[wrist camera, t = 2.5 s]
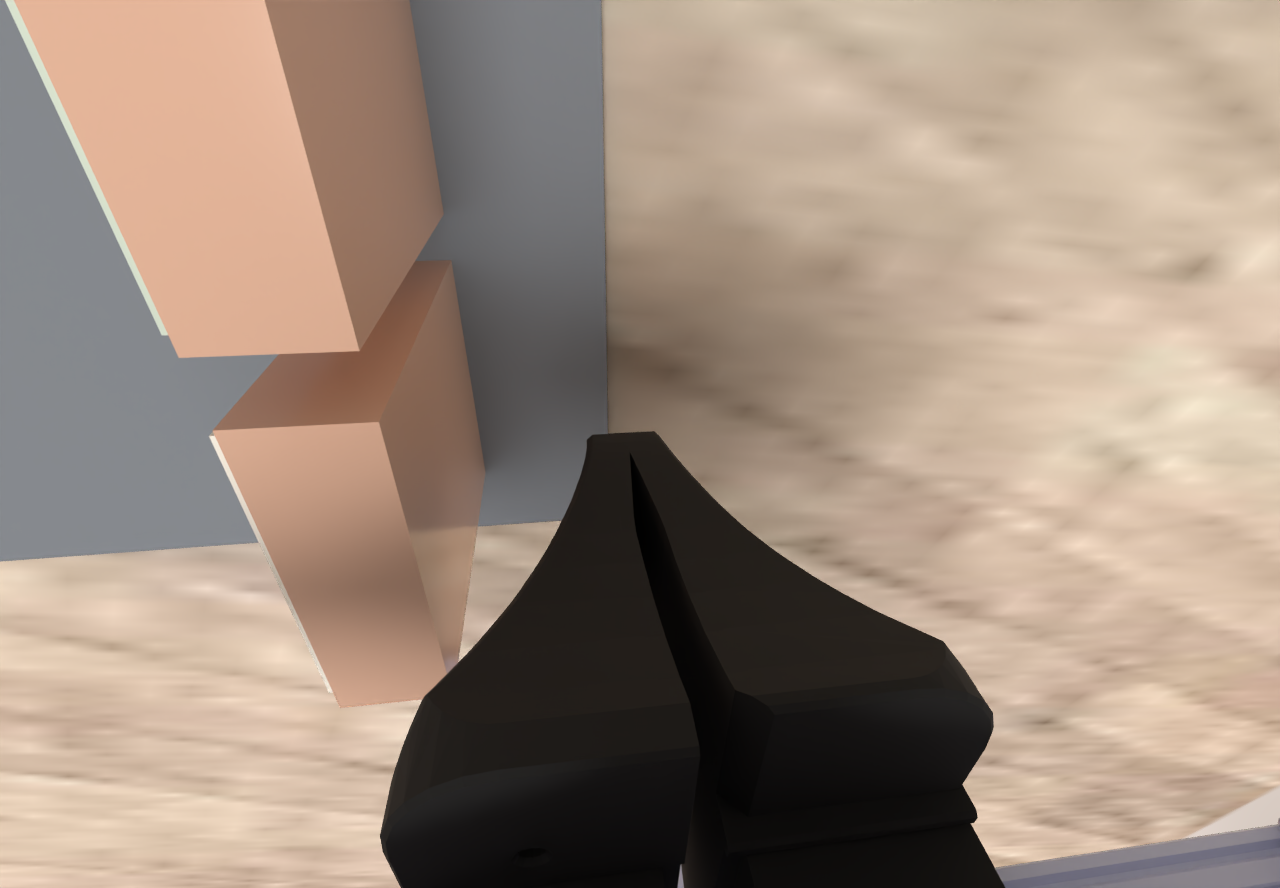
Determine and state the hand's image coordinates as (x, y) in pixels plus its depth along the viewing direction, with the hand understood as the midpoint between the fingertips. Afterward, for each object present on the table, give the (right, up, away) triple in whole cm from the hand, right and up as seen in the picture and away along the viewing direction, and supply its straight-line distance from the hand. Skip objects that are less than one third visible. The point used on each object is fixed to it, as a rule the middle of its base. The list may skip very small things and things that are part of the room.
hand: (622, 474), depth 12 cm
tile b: (-5, +8, -1) cm, 9 cm away
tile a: (-5, +2, +3) cm, 6 cm away
